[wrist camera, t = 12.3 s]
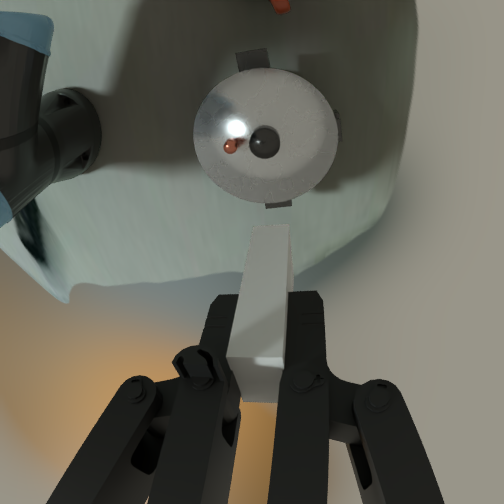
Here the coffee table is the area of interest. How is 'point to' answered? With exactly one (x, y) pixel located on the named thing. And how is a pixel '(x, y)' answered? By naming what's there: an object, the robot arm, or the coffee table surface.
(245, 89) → the lid
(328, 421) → the robot arm
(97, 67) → the coffee table surface
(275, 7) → the mug
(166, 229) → the coffee table surface
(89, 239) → the coffee table surface
